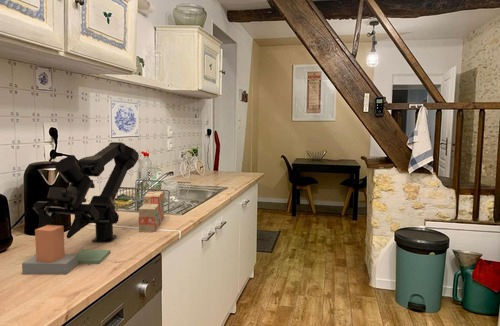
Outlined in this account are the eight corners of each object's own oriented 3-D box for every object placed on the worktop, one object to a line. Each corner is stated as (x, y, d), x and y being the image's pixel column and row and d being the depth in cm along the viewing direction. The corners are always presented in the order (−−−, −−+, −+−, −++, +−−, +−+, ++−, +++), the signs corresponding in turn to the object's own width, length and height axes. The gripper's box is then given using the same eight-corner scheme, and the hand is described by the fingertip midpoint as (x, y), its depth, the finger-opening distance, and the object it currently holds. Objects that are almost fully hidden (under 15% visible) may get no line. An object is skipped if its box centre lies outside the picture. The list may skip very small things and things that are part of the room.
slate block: (36, 264, 105) (36, 254, 105) (78, 264, 106) (77, 254, 105) (22, 273, 98) (21, 263, 98) (66, 274, 99) (66, 263, 98)
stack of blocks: (155, 232, 138) (154, 201, 136) (138, 232, 137) (137, 201, 136) (164, 218, 159) (163, 190, 158) (149, 218, 158) (149, 190, 157)
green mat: (82, 252, 115) (82, 249, 115) (110, 252, 115) (110, 249, 115) (68, 263, 106) (68, 260, 106) (99, 263, 106) (99, 260, 106)
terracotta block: (49, 254, 104) (48, 224, 104) (64, 256, 104) (63, 225, 103) (36, 261, 100) (34, 229, 99) (52, 262, 99) (51, 231, 98)
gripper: (35, 174, 107) (6, 220, 98) (92, 177, 104) (68, 224, 95) (55, 195, 116) (30, 239, 106) (108, 198, 113) (87, 244, 103)
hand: (53, 236), depth 102 cm, fingers open, 9 cm apart
